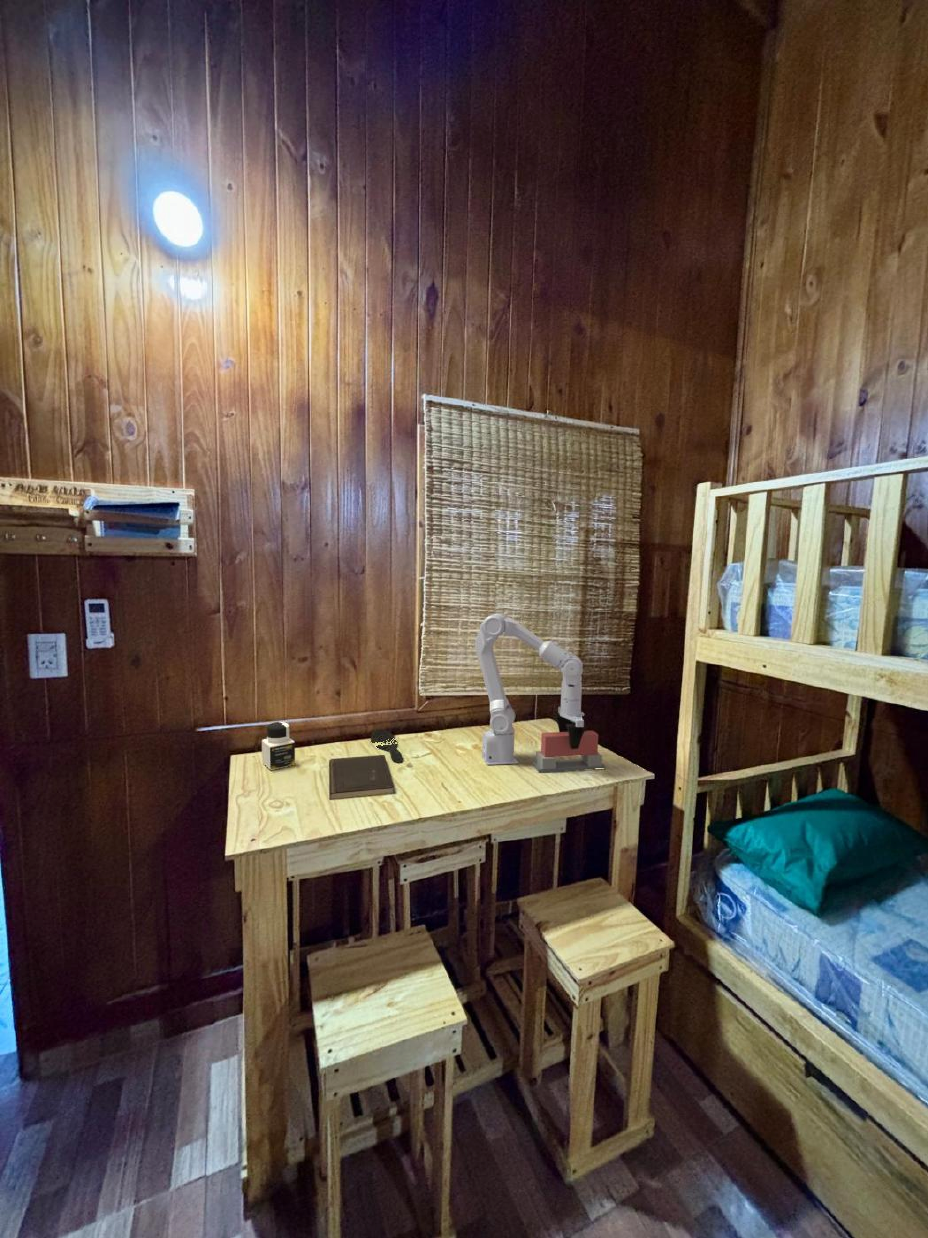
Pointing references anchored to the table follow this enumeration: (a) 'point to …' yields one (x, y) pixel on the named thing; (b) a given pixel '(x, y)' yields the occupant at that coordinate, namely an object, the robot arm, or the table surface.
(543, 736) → the frame bar
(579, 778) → the table surface
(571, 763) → the display rack
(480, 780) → the table surface
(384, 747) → the hairbrush
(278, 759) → the medicine bottle
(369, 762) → the hardcover book
